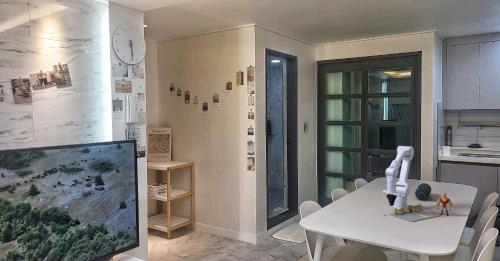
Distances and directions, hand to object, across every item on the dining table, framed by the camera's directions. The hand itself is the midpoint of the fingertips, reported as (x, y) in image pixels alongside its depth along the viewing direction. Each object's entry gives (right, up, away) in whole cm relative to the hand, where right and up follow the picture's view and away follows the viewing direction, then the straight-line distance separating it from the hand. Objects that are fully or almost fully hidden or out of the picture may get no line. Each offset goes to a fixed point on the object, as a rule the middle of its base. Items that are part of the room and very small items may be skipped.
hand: (391, 205), depth 242 cm
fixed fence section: (+18, -4, +2) cm, 18 cm away
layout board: (+12, -5, -6) cm, 15 cm away
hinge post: (+12, -5, -1) cm, 13 cm away
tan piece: (+5, -4, -4) cm, 8 cm away
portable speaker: (+40, -2, +39) cm, 56 cm away
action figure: (+32, -5, -7) cm, 33 cm away
